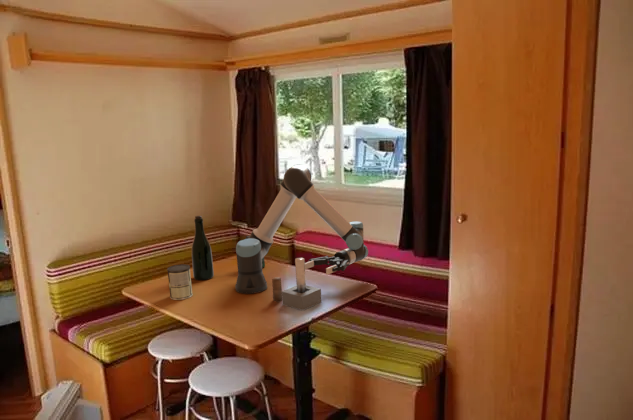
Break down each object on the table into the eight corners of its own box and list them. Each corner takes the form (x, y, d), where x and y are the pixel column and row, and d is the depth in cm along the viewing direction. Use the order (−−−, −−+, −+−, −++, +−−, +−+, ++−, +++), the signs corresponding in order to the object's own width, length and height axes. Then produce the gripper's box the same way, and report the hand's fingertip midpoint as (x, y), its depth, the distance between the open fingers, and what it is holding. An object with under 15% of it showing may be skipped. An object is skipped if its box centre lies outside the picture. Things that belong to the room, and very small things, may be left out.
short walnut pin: (271, 300, 223) (270, 279, 221) (277, 297, 226) (276, 276, 224) (277, 302, 221) (276, 280, 219) (284, 299, 224) (282, 278, 222)
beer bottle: (204, 273, 269) (199, 213, 263) (218, 276, 263) (213, 214, 257) (189, 279, 261) (183, 217, 255) (202, 281, 255) (197, 218, 249)
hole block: (282, 304, 217) (281, 291, 216) (301, 296, 226) (300, 284, 225) (303, 310, 209) (302, 296, 208) (321, 301, 218) (320, 288, 217)
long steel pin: (295, 303, 218) (293, 259, 214) (301, 301, 221) (299, 257, 217) (302, 305, 215) (300, 260, 212) (308, 302, 218) (306, 258, 215)
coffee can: (166, 297, 235) (163, 268, 232) (185, 291, 242) (182, 263, 239) (177, 301, 227) (174, 272, 225) (196, 295, 234) (194, 266, 232)
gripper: (365, 269, 231) (337, 281, 215) (324, 261, 247) (295, 272, 231) (365, 253, 230) (336, 265, 214) (323, 247, 246) (294, 257, 230)
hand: (314, 269), depth 223 cm, fingers open, 13 cm apart
